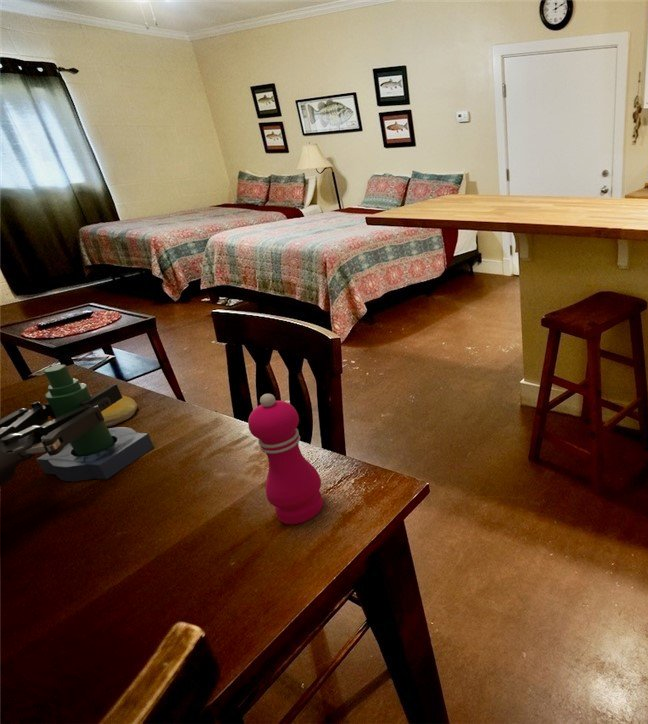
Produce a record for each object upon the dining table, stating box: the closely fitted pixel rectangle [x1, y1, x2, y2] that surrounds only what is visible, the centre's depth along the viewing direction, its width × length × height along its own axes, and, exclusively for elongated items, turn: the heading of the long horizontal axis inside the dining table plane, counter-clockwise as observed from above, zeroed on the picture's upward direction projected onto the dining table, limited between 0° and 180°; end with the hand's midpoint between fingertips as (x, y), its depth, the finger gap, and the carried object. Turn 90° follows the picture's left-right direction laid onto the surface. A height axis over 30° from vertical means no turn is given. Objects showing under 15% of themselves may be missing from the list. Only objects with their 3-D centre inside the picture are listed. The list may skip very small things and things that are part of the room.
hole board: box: [36, 426, 155, 483], centre depth 82 cm, size 12×11×3 cm
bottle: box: [43, 364, 115, 457], centre depth 78 cm, size 5×5×16 cm
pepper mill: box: [247, 393, 324, 525], centre depth 67 cm, size 7×7×20 cm
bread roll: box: [101, 395, 138, 428], centre depth 94 cm, size 8×9×4 cm
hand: (100, 391), depth 82 cm, fingers closed on bottle, 5 cm apart
